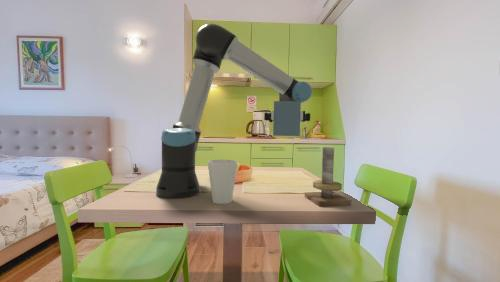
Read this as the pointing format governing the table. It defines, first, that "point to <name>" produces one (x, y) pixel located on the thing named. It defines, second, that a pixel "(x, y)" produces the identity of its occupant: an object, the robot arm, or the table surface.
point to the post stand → (327, 184)
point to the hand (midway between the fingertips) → (286, 115)
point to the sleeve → (286, 118)
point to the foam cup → (222, 180)
